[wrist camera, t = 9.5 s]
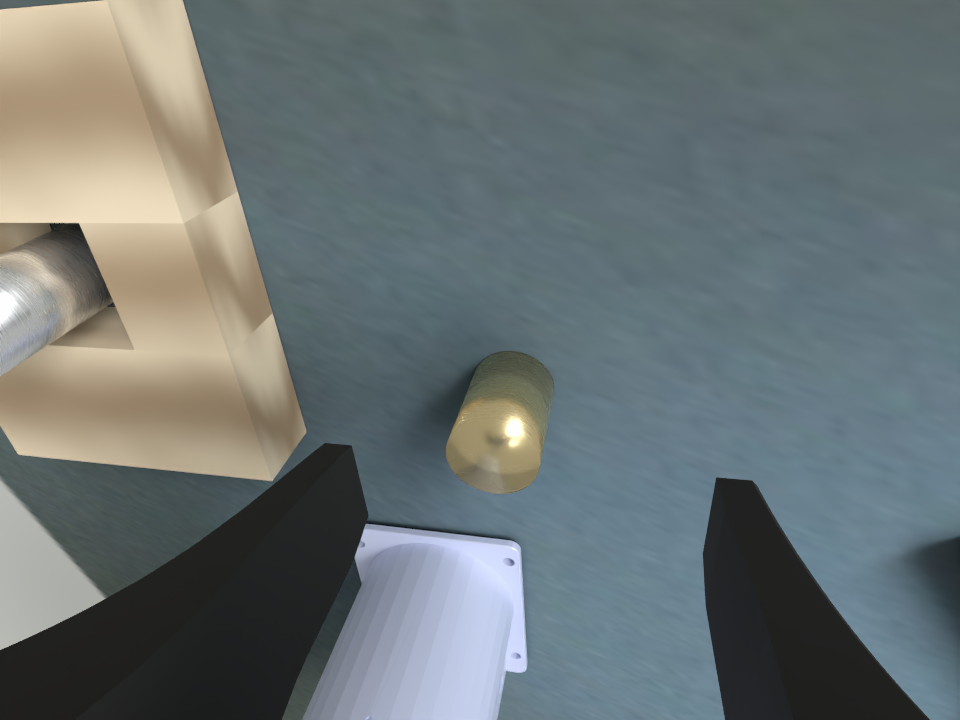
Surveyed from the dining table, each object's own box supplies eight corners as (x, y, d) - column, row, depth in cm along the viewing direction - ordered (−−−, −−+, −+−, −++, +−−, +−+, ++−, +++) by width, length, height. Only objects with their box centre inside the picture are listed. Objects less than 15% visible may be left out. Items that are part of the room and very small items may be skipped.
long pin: (160, 288, 24) (8, 394, 18) (94, 285, 24) (-74, 386, 18) (132, 212, 22) (-46, 302, 16) (62, 211, 23) (-133, 297, 17)
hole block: (306, 431, 26) (272, 481, 24) (71, 411, 29) (18, 454, 26) (180, -6, 18) (106, 0, 15) (-138, 22, 20) (-246, 31, 18)
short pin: (554, 421, 23) (540, 498, 20) (476, 415, 24) (450, 489, 20) (553, 353, 21) (538, 424, 18) (469, 349, 22) (440, 417, 19)
